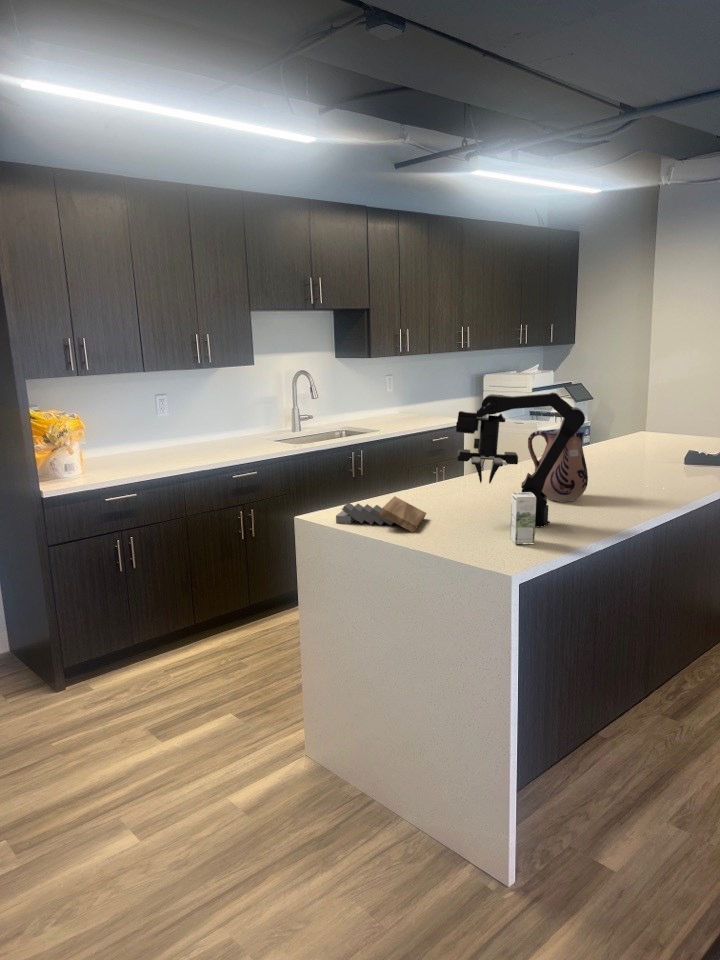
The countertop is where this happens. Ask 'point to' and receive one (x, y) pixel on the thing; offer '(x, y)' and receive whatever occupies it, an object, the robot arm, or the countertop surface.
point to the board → (403, 514)
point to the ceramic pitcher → (563, 467)
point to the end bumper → (344, 518)
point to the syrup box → (523, 517)
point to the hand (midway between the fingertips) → (485, 482)
